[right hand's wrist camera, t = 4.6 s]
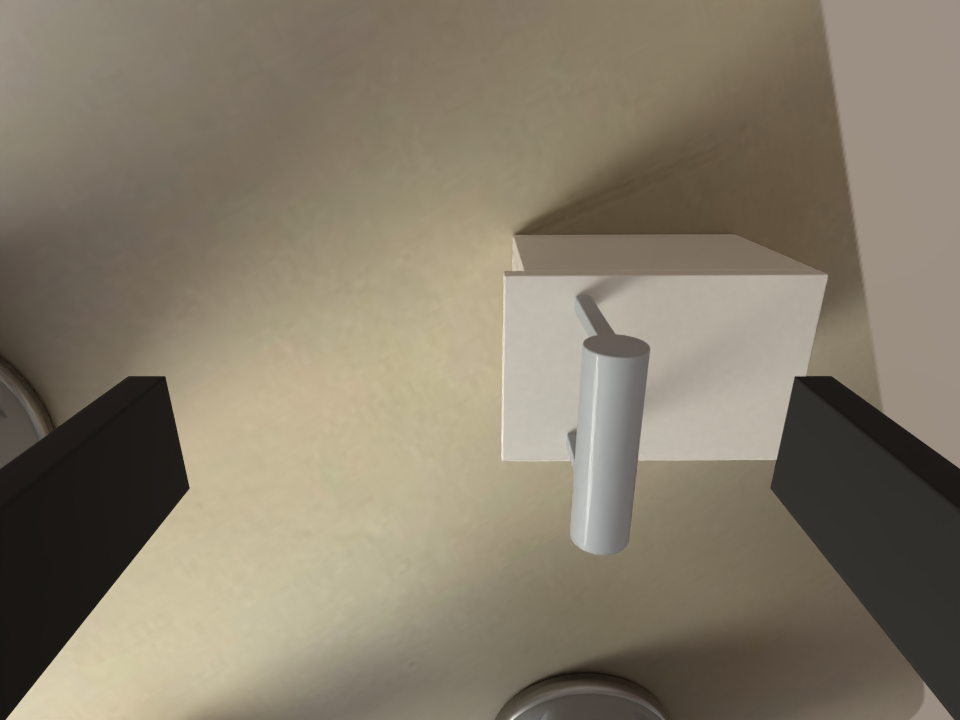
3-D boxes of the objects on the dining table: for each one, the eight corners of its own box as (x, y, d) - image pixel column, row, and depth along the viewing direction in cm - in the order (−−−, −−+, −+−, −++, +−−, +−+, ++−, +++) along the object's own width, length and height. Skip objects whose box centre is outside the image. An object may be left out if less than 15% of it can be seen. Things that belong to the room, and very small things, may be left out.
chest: (510, 379, 38) (519, 451, 30) (512, 234, 35) (524, 270, 26) (712, 378, 38) (778, 450, 30) (735, 233, 35) (817, 269, 26)
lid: (501, 452, 30) (510, 573, 22) (503, 270, 26) (515, 334, 18) (779, 450, 30) (889, 570, 22) (818, 269, 26) (966, 332, 18)
